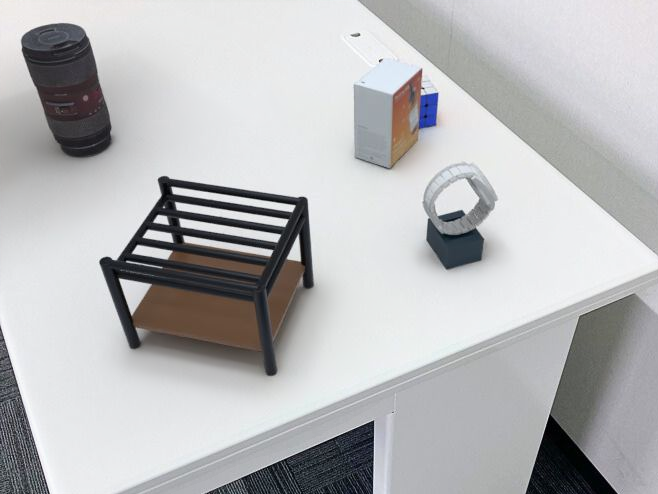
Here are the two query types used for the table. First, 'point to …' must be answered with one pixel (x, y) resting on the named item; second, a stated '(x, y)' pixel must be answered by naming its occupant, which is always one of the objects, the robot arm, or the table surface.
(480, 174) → the watch
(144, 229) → the slatted rack
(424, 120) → the rubik's cube
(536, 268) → the table surface
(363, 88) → the small box
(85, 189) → the table surface
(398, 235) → the table surface
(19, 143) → the table surface
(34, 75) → the camera lens
